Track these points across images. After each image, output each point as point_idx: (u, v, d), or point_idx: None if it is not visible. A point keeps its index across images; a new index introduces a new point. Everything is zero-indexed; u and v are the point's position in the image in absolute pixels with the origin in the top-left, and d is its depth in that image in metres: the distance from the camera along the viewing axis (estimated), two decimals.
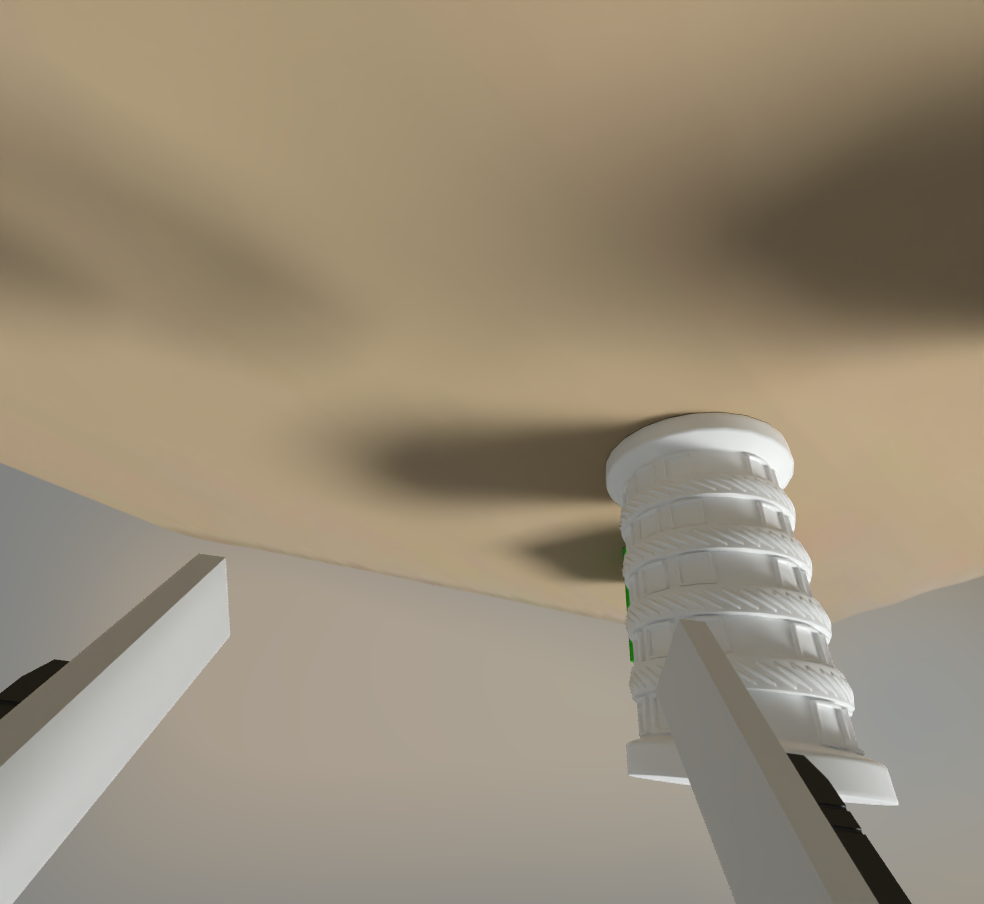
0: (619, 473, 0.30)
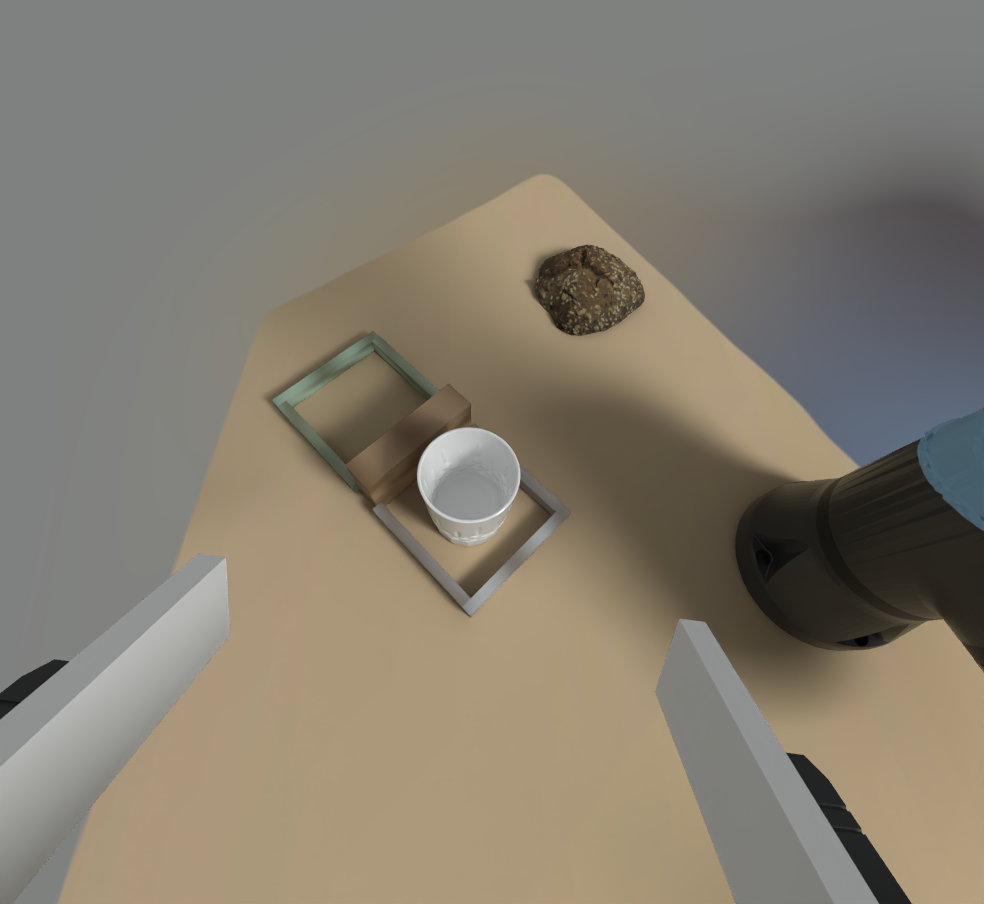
0: None
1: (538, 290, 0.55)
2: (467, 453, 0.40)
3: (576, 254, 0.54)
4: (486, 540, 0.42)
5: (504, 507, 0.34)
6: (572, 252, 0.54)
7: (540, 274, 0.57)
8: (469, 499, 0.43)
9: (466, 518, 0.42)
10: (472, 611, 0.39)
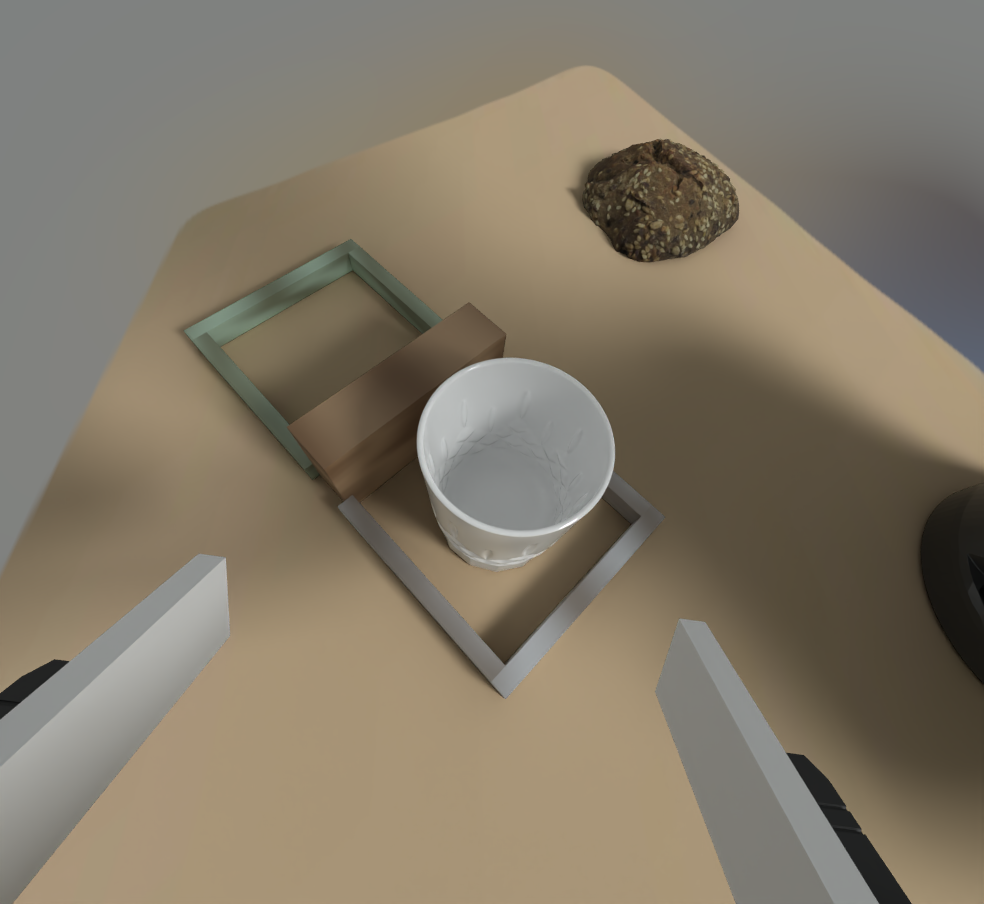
0: None
1: (588, 199, 0.39)
2: (502, 412, 0.23)
3: (645, 146, 0.38)
4: (527, 562, 0.25)
5: (589, 506, 0.17)
6: (639, 145, 0.38)
7: (589, 181, 0.40)
8: (499, 492, 0.26)
9: (495, 524, 0.25)
10: (509, 690, 0.22)
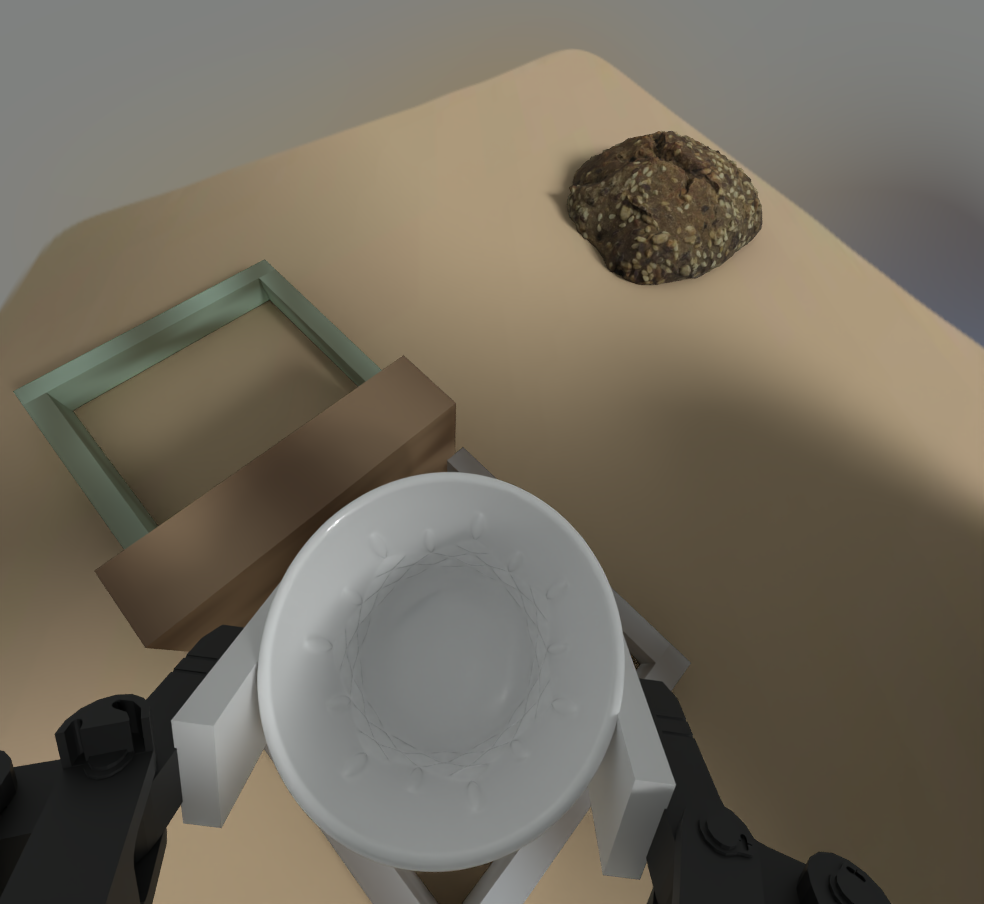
0: None
1: (574, 207, 0.31)
2: (446, 533, 0.15)
3: (644, 139, 0.30)
4: None
5: (579, 786, 0.09)
6: (636, 138, 0.30)
7: (575, 184, 0.33)
8: (449, 632, 0.18)
9: (442, 687, 0.17)
10: None
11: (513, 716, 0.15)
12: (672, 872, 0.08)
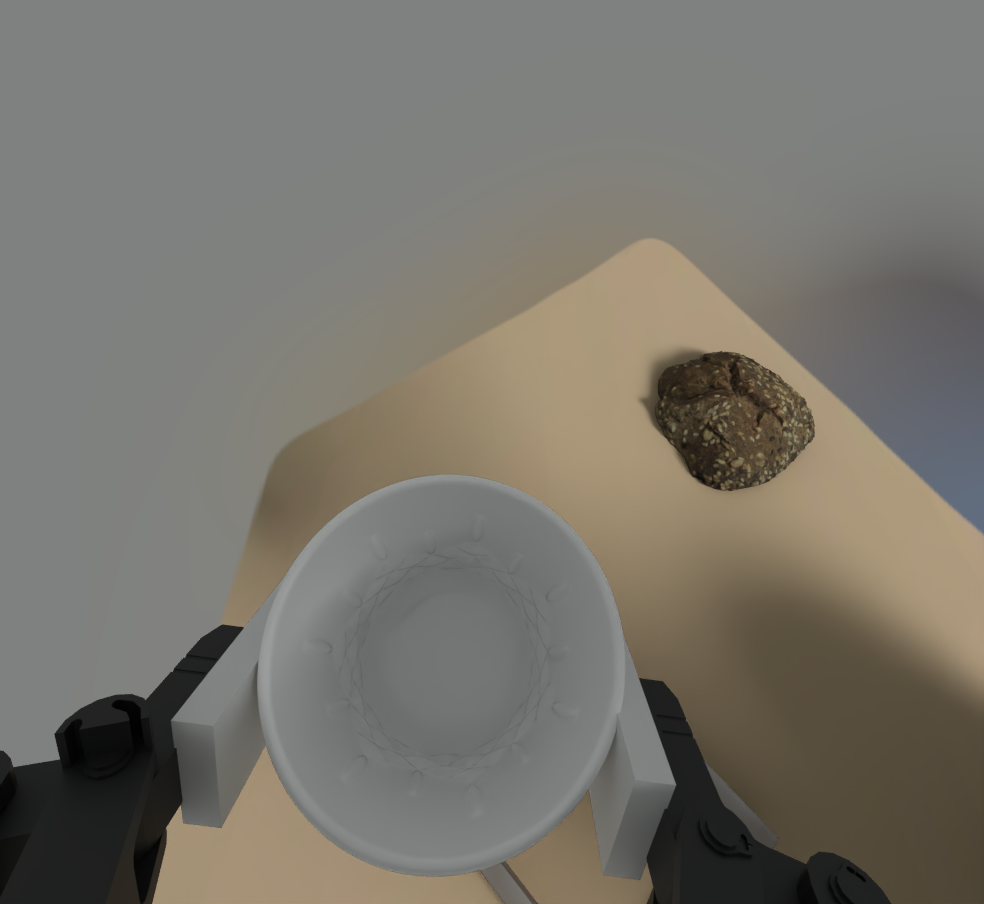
0: None
1: (663, 418, 0.39)
2: (446, 535, 0.15)
3: (722, 371, 0.38)
4: None
5: (580, 790, 0.09)
6: (715, 367, 0.38)
7: (661, 391, 0.40)
8: (449, 634, 0.18)
9: (442, 689, 0.17)
10: None
11: (512, 719, 0.15)
12: (673, 872, 0.08)
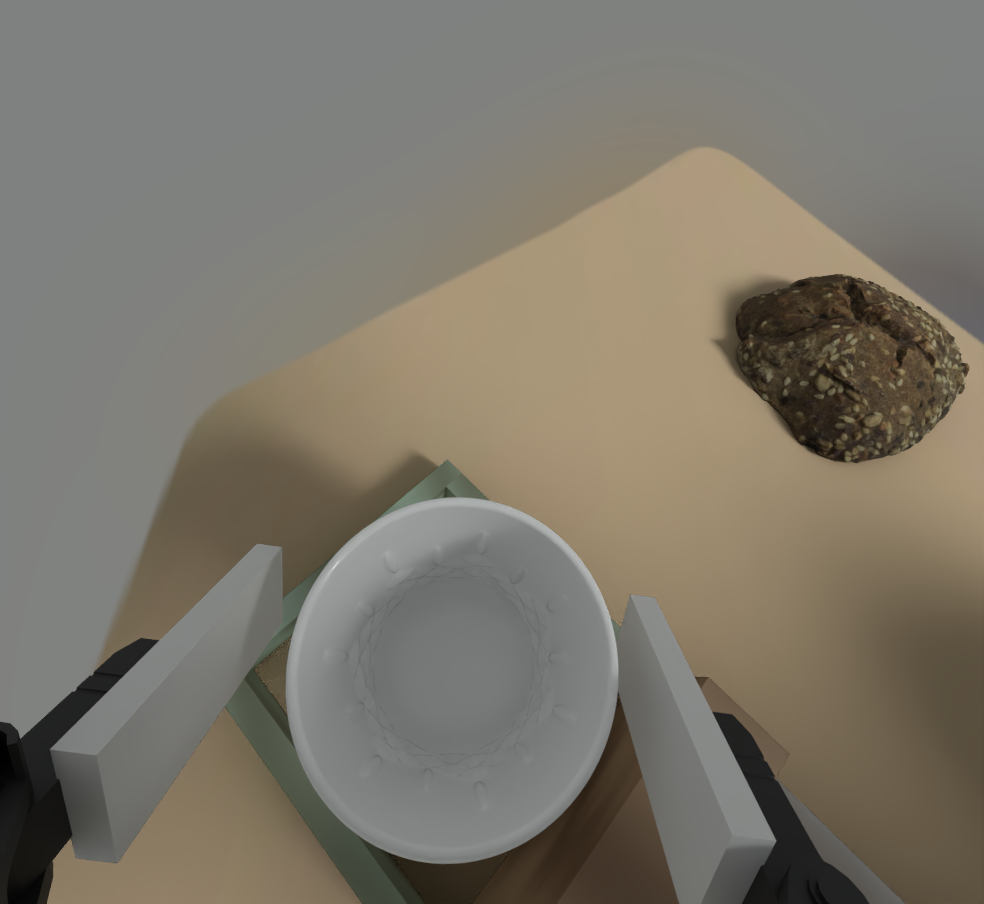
0: None
1: (751, 363, 0.28)
2: (452, 549, 0.16)
3: (837, 294, 0.26)
4: None
5: (577, 787, 0.10)
6: (825, 290, 0.27)
7: (743, 329, 0.29)
8: (456, 640, 0.19)
9: (449, 692, 0.18)
10: None
11: (516, 720, 0.16)
12: None
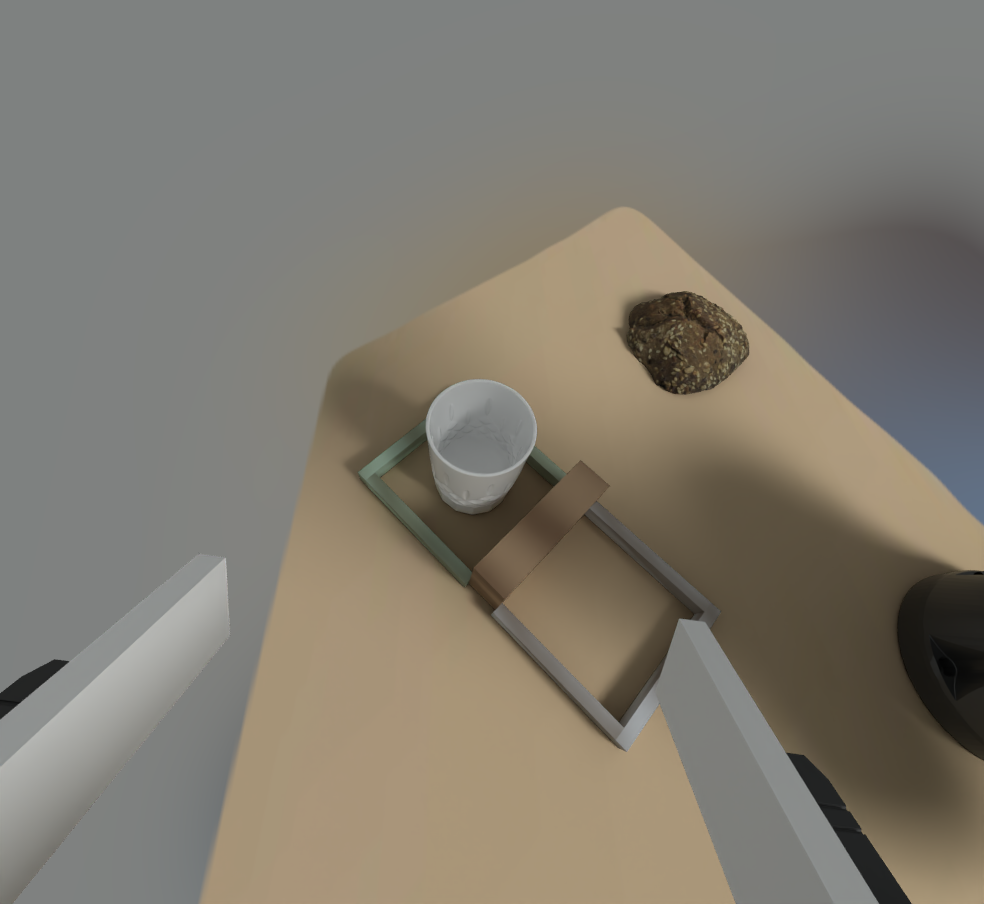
0: None
1: (633, 341, 0.49)
2: (475, 411, 0.37)
3: (677, 303, 0.48)
4: (492, 507, 0.39)
5: (521, 461, 0.31)
6: (672, 300, 0.49)
7: (631, 322, 0.51)
8: (474, 463, 0.40)
9: None
10: (628, 745, 0.32)
11: None
12: None
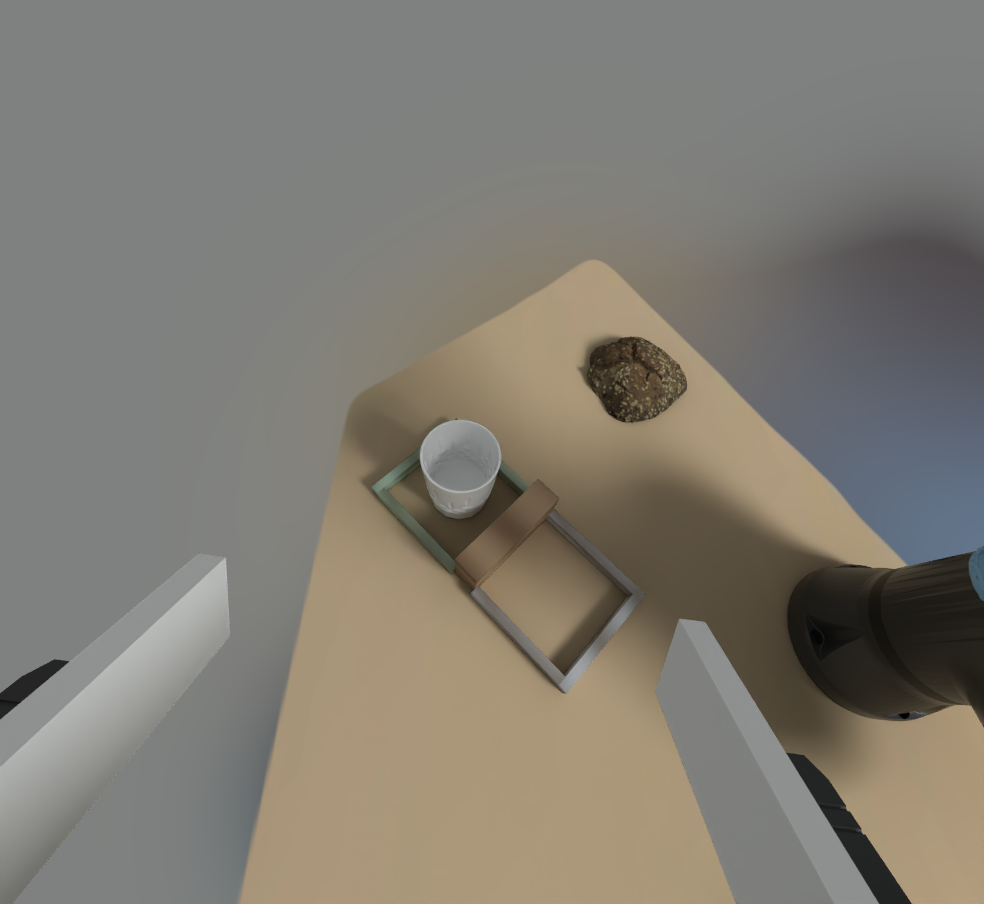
0: None
1: (591, 378, 0.61)
2: (459, 441, 0.49)
3: (627, 348, 0.60)
4: (474, 514, 0.51)
5: (488, 481, 0.43)
6: (623, 346, 0.60)
7: (591, 362, 0.62)
8: (460, 480, 0.52)
9: None
10: (568, 689, 0.43)
11: None
12: None
